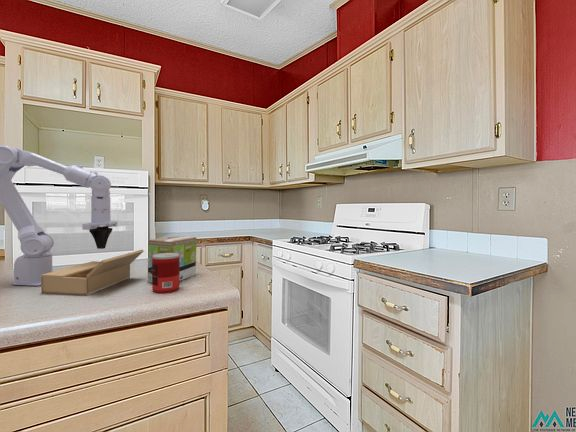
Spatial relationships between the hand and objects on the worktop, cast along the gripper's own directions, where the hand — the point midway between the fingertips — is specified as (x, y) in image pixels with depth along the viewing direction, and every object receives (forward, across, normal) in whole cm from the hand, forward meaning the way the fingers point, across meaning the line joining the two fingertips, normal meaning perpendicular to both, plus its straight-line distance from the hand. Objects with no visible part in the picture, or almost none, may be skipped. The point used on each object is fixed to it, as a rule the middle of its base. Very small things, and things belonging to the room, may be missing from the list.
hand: (101, 248), depth 103 cm
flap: (+2, -9, -12) cm, 15 cm away
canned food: (+11, -10, -29) cm, 32 cm away
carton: (+10, -9, -3) cm, 14 cm away
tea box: (+11, +3, -25) cm, 27 cm away
